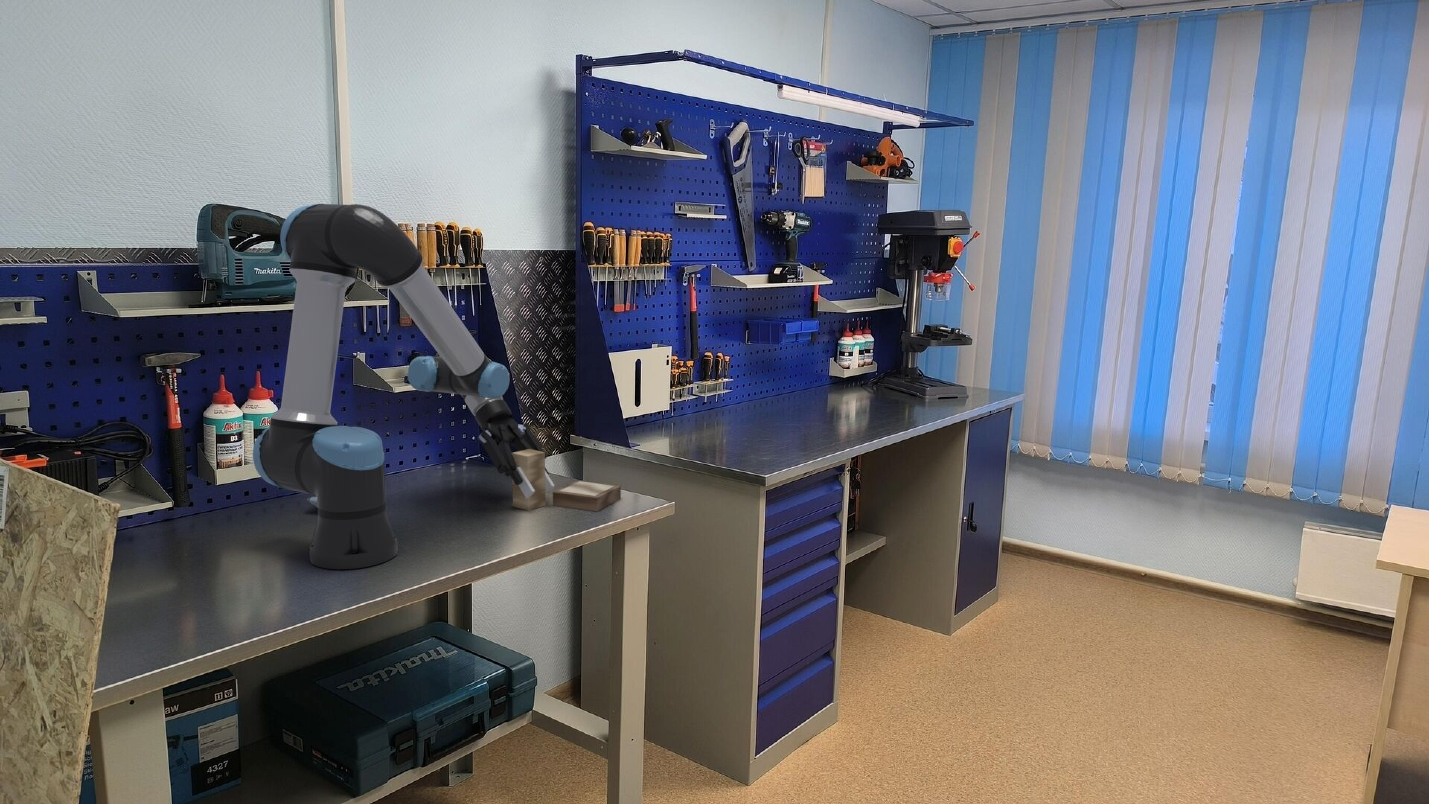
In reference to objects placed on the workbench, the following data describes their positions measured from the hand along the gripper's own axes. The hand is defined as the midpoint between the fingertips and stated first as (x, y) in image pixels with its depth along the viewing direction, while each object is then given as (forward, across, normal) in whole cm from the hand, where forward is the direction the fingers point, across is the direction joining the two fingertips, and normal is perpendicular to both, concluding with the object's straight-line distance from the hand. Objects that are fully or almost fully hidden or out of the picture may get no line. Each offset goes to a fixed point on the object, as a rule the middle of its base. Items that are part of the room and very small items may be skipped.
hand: (540, 492), depth 203 cm
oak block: (0, 0, -5) cm, 5 cm away
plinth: (+5, -10, 0) cm, 12 cm away
